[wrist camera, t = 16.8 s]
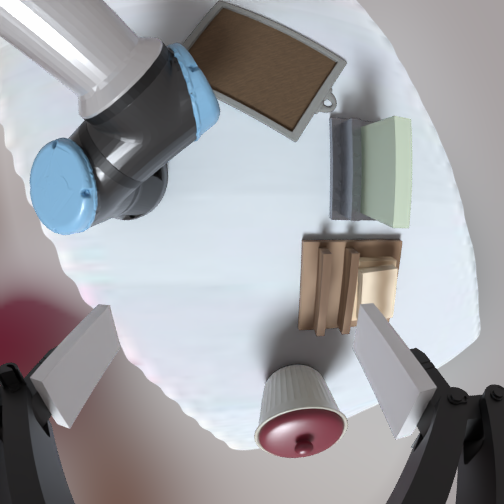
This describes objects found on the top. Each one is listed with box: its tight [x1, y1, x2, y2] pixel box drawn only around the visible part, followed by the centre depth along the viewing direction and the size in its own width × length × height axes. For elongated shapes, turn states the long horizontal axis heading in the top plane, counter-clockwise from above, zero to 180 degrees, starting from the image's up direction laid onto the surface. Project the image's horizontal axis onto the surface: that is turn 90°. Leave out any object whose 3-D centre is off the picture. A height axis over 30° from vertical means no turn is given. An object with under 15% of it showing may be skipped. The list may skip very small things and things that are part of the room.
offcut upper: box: [356, 264, 398, 320], centre depth 47 cm, size 7×10×2 cm
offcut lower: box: [351, 257, 397, 321], centre depth 50 cm, size 8×12×2 cm, turn 1°
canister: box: [254, 365, 348, 458], centre depth 50 cm, size 18×18×21 cm
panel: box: [360, 116, 412, 228], centre depth 37 cm, size 2×14×16 cm, turn 1°
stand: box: [329, 118, 375, 221], centre depth 42 cm, size 10×18×8 cm, turn 1°
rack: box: [298, 239, 402, 336], centre depth 50 cm, size 20×18×6 cm
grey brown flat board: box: [182, 1, 347, 142], centre depth 41 cm, size 19×2×30 cm
